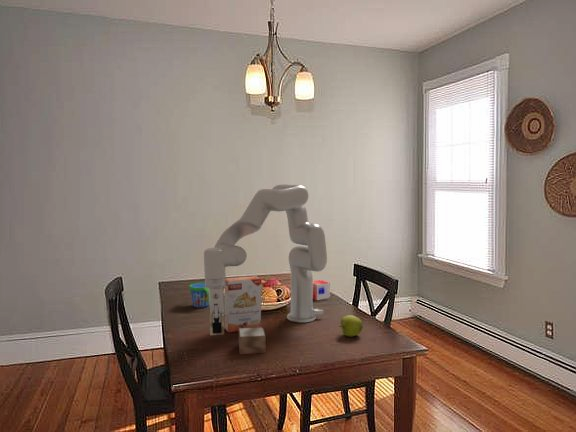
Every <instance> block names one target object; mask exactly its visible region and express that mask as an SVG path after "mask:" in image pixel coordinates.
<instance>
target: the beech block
mask: <svg viewBox="0 0 576 432" xmlns="http://www.w3.org/2000/svg"><path fill="white" fill-rule="evenodd" d="M214 314H215V313H214ZM218 314H219V312H218ZM214 317H215V316H214ZM218 317H219V316H218ZM220 320H221V328H222V332H221V333H215V334H213V328H212V322H213V314H212V315H211V312H209V334H210V336H221V335H223V336H224V335H225V313H224V314H221V313H220Z"/></svg>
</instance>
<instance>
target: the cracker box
mask: <svg viewBox="0 0 576 432" xmlns="http://www.w3.org/2000/svg"><path fill="white" fill-rule="evenodd" d="M261 321H262V278H260V277H259V276H257V275H254V276H253V275H252V276H241V277H240V276H239V277H227V278H226V286H225V287H224V330H226V332H227V333H235V332H239V328H259V327H262V326H261V325H262V322H261Z"/></svg>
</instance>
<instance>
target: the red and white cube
mask: <svg viewBox="0 0 576 432" xmlns="http://www.w3.org/2000/svg"><path fill="white" fill-rule="evenodd" d="M330 285H331V284H330V282H328V281H325V280H323V279H319V280H318V279H317V280H313V300H314V301H319V300H326V299H330V296H331V295H330V294H331V293H330V291H331V290H330V288H331V286H330Z"/></svg>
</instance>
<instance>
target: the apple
mask: <svg viewBox="0 0 576 432" xmlns="http://www.w3.org/2000/svg"><path fill="white" fill-rule="evenodd" d="M339 328H341V330H342V331H341V332H342V333H343V334H344V335H345V336H346V337H355V336H357V335H359V334H360V333H361V332H362V331H363V328H364V326H363V321H362V320H361V319H360V318H359V317H357V316H355V315H352V314H351V315H350V314H349V315H348V314H347V315H344V316H343V317H342V319H341V320H340V325H339Z"/></svg>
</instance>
